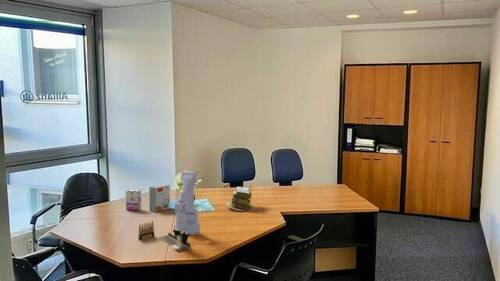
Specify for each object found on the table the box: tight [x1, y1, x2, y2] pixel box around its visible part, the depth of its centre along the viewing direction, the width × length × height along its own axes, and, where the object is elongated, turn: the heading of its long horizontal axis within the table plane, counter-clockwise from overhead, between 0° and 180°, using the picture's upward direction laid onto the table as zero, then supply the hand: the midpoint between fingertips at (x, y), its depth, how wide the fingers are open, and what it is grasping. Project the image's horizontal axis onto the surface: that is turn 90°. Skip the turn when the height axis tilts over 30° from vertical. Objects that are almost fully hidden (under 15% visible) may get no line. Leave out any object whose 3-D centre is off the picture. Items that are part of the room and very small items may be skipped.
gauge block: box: [177, 235, 186, 247], centre depth 256 cm, size 4×4×6 cm
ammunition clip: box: [137, 220, 155, 241], centre depth 268 cm, size 11×2×12 cm, turn 131°
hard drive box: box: [149, 183, 171, 213], centre depth 336 cm, size 16×8×20 cm, turn 143°
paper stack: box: [225, 186, 256, 212], centre depth 343 cm, size 25×25×17 cm
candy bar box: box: [125, 189, 142, 212], centre depth 335 cm, size 11×5×16 cm, turn 76°
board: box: [157, 232, 192, 253], centre depth 262 cm, size 9×26×3 cm, turn 40°
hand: (181, 242), depth 256 cm, fingers open, 7 cm apart
